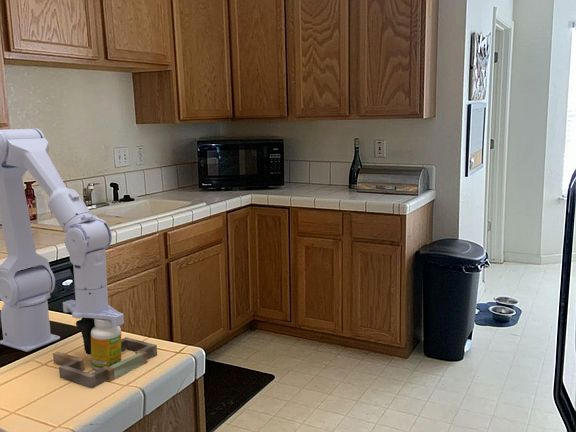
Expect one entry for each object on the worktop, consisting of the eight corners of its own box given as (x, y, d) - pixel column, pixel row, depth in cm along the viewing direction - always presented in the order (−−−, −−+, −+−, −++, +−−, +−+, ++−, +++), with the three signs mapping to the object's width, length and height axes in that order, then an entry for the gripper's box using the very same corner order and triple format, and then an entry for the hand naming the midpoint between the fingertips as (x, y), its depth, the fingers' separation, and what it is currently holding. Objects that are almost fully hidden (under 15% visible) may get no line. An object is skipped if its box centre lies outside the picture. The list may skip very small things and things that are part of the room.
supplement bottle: (112, 373, 102) (111, 324, 99) (85, 369, 103) (84, 320, 100) (126, 360, 107) (126, 313, 105) (100, 356, 108) (100, 309, 106)
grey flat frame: (37, 370, 103) (36, 360, 102) (105, 340, 116) (104, 331, 116) (94, 389, 95) (93, 378, 94) (160, 355, 108) (159, 345, 108)
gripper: (47, 284, 104) (52, 352, 106) (100, 298, 96) (104, 371, 99) (78, 275, 110) (82, 340, 112) (131, 287, 102) (134, 356, 105)
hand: (95, 353), depth 106 cm, fingers closed, pressing on supplement bottle
